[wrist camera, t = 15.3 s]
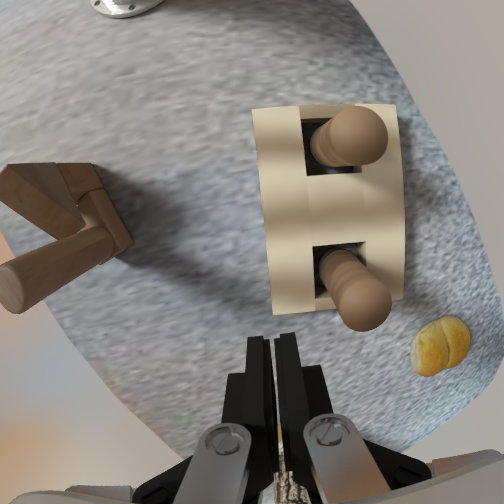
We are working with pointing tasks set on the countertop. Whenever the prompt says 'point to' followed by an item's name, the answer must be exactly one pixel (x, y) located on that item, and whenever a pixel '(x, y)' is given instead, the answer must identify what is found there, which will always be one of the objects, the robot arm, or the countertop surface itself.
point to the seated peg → (350, 138)
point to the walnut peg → (354, 290)
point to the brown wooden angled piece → (58, 228)
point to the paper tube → (286, 482)
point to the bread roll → (439, 345)
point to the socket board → (326, 207)
